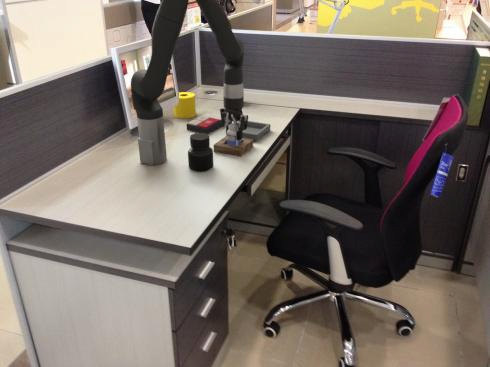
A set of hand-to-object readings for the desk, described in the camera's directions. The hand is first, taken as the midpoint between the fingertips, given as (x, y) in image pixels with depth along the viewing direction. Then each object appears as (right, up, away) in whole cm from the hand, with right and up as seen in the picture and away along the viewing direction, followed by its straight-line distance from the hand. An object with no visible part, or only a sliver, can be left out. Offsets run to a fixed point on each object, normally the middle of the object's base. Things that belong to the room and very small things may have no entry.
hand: (234, 137), depth 183 cm
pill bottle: (0, -4, +2) cm, 5 cm away
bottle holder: (0, -4, +3) cm, 5 cm away
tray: (+6, +3, +18) cm, 20 cm away
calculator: (-13, +7, +26) cm, 30 cm away
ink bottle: (-12, -12, -12) cm, 20 cm away
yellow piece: (-24, +15, +41) cm, 50 cm away
